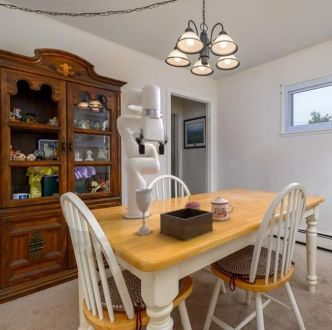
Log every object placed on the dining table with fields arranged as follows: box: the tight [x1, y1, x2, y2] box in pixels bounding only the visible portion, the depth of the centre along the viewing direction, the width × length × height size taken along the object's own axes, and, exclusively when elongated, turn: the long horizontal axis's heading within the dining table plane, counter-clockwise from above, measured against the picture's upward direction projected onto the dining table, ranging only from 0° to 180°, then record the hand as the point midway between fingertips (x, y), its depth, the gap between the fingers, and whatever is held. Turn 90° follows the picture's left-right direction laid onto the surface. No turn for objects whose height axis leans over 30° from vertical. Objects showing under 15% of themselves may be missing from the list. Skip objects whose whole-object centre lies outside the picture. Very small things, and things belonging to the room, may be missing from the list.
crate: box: [159, 207, 214, 242], centre depth 95 cm, size 16×16×8 cm
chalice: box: [135, 188, 153, 236], centre depth 93 cm, size 7×7×18 cm
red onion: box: [184, 194, 202, 210], centre depth 123 cm, size 9×8×12 cm
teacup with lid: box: [210, 195, 235, 222], centre depth 116 cm, size 12×9×12 cm
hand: (152, 154), depth 97 cm, fingers open, 9 cm apart
